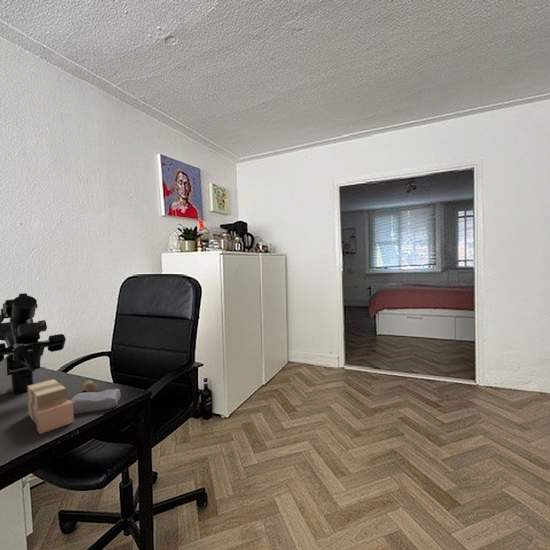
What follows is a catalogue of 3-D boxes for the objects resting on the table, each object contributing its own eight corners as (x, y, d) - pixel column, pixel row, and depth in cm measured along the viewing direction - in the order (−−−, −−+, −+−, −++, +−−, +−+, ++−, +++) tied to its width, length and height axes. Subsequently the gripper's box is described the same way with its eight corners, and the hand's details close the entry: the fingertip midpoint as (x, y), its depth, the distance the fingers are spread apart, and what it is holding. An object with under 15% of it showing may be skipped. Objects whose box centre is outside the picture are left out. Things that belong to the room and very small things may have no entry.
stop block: (36, 429, 74) (35, 409, 74) (70, 418, 80) (69, 399, 80) (39, 433, 72) (38, 413, 72) (73, 422, 78) (72, 402, 78)
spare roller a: (81, 382, 99) (91, 379, 101) (83, 391, 99) (93, 387, 101) (87, 385, 95) (97, 382, 98) (88, 395, 96) (98, 391, 98)
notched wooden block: (28, 414, 83) (27, 385, 83) (55, 406, 87) (53, 379, 87) (39, 428, 75) (37, 396, 75) (68, 419, 79) (66, 388, 79)
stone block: (79, 408, 90) (66, 416, 81) (80, 391, 91) (67, 397, 82) (123, 403, 94) (115, 410, 84) (123, 386, 95) (116, 392, 85)
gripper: (-16, 317, 87) (-8, 362, 79) (62, 309, 101) (74, 347, 93) (-17, 341, 92) (-10, 386, 85) (57, 330, 106) (68, 367, 99)
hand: (33, 370), depth 90 cm, fingers closed
